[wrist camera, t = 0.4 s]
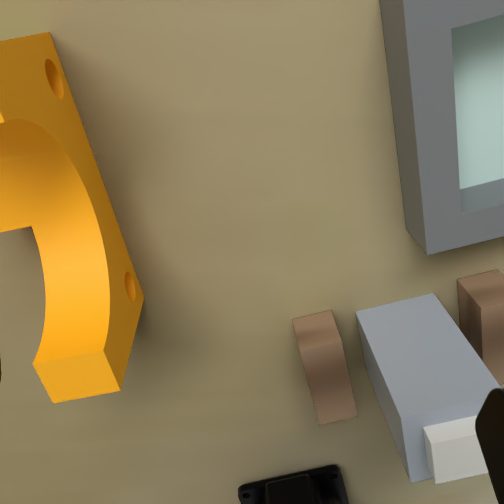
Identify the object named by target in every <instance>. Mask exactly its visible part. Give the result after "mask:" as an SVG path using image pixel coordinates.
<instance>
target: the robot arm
mask: <svg viewBox="0 0 504 504" xmlns="http://www.w3.org/2000/svg"><path fill="white" fill-rule="evenodd" d="M0 381H1V360H0ZM475 432H476V435H477V438H478V441H479V445H480V448H481V451H482V454H483V457H484V460H485V463H486V466H487V470H488V473H489V476H490V479H491V482H492V485H493V488H494V491H495V494H496V498H497V500H498V503H499V504H504V389H503V388H494V389H492V390H491V391H490V392H489V394H488V395H487V397H486V399H485V401H484V403H483V405H482V407H481V409H480V411H479V413H478V415H477V417H476V420H475ZM238 497H239V499H240V502H241V504H349V502H348V498H347V494H346V490H345V487H344V483H343V479H342V475H341V471H340V468H339V467H338V466H335V465H331V466H326V467H322V468H317V469H313V470H308V471H304V472H299V473H295V474H290V475H286V476H281V477H277V478H272V479H268V480H263V481H259V482H254V483H250V484H245V485H242V486H240V487H239V489H238Z"/></svg>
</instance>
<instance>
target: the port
mask: <svg viewBox="0 0 504 504" xmlns="http://www.w3.org/2000/svg"><path fill="white" fill-rule="evenodd" d="M380 7H381V16H382V25H383V33H384V42H385V51H386V59H387V68H388V77H389V85H390V94H391V103H392V111H393V120H394V129H395V137H396V146H397V155H398V163H399V172H400V181H401V189H402V198H403V207H404V215H405V224H406V229H407V231H408V232H409V233H410V234H411V236H412V237H413V238H414V239H415V241H416V242H417V243H418V244H419V246H420V247H421V248H422V249H423V251H424V252H425V253H426V254H427V255H431V254H435V253H439V252H443V251H447V250H451V249H455V248H459V247H463V246H467V245H471V244H475V243H479V242H483V241H487V240H491V239H495V238H499V237H503V236H504V0H380Z"/></svg>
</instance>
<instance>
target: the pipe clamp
mask: <svg viewBox="0 0 504 504" xmlns="http://www.w3.org/2000/svg"><path fill="white" fill-rule="evenodd" d="M29 226H32V229H33V232H34V235H35V238H36V241H37V245H38V248H39V252H40V256H41V261H42V266H43V272H44V280H45V292H46V311H45V322H44V329H43V335H42V339H41V343H40V347H39V349H38V352H37V355H36V357H35V360H34V362H33V366H34V368H35V370H36V371H37V373H38V375H39V377H40V379H41V381H42V383H43V385H44V387H45V388H46V390H47V392H48V394H49V396H50V398H51V400H52V402H53V403H57V402H62V401H68V400H73V399H78V398H84V397H89V396H95V395H100V394H105V393H111V392H116V391H121V387H122V383H123V379H124V375H125V371H126V367H127V363H128V360H129V356H130V352H131V348H132V344H133V340H134V336H135V332H136V328H137V325H138V321H139V317H140V313H141V309H142V305H143V301H144V295H143V293H142V290H141V287H140V284H139V281H138V279H137V276H136V273H135V270H134V267H133V265H132V262H131V259H130V256H129V253H128V251H127V248H126V245H125V242H124V239H123V237H122V234H121V231H120V228H119V225H118V223H117V220H116V217H115V214H114V211H113V209H112V206H111V203H110V200H109V197H108V195H107V192H106V189H105V186H104V183H103V181H102V178H101V175H100V172H99V169H98V167H97V164H96V161H95V158H94V155H93V153H92V150H91V147H90V144H89V141H88V139H87V136H86V133H85V130H84V127H83V125H82V122H81V119H80V116H79V113H78V111H77V108H76V105H75V102H74V99H73V97H72V94H71V91H70V88H69V85H68V83H67V80H66V77H65V74H64V71H63V69H62V66H61V63H60V60H59V57H58V55H57V52H56V49H55V46H54V43H53V41H52V38H51V35H50V32H46V33H41V34H36V35H31V36H26V37H21V38H15V39H10V40H5V41H0V232H4V231H9V230H14V229H19V228H24V227H29Z"/></svg>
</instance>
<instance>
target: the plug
mask: <svg viewBox="0 0 504 504" xmlns="http://www.w3.org/2000/svg"><path fill="white" fill-rule="evenodd" d="M356 317H357V323H358V328H359V333H360V338H361V344H362V349H363V354H364V360H365V365H366V370H367V372H368V375H369V378H370V380H371V383H372V385H373V388H374V390H375V393H376V396H377V398H378V401H379V403H380V406H381V408H382V411H383V413H384V416H385V419H386V421H387V424H388V426H389V429H390V431H391V434H392V437H393V439H394V442H395V444H396V447H397V449H398V452H399V455H400V457H401V460H402V462H403V465H404V467H405V470H406V472H407V475H408V478H409V480H410V483H414V482H419V481H423V480H428V479H432V478H433V479H434V481H435V484H439V483H444V482H448V481H453V480H458V479H462V478H467V477H472V476H476V475H481V474H486V473H488V470H487V466H486V463H485V460H484V457H483V454H482V451H481V448H480V445H479V441H478V438H477V435H476V432H475V420H476V417H477V415H478V413H479V411H480V409H481V407H482V405H483V403H484V401H485V399H486V397H487V395H488V394H489V392H490V391H491V390H492V389H494V388H501V386H500V385H499V384H498V382H497V381H496V379H495V378H494V377H493V375H492V374H491V372H490V371H489V370H488V368H487V367H486V365H485V364H484V363H483V361H482V360H481V359H480V357H479V356H478V354H477V353H476V352H475V350H474V349H473V347H472V346H471V345H470V343H469V342H468V340H467V339H466V338H465V336H464V335H463V333H462V332H461V331H460V329H459V328H458V326H457V325H456V324H455V322H454V321H453V319H452V318H451V317H450V315H449V314H448V312H447V311H446V310H445V308H444V307H443V306H442V304H441V303H440V301H439V300H438V299H437V297H436V296H435V294H434V293H430V294H426V295H422V296H418V297H414V298H410V299H406V300H402V301H397V302H393V303H389V304H385V305H381V306H377V307H373V308H369V309H364V310H360V311H356Z"/></svg>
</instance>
